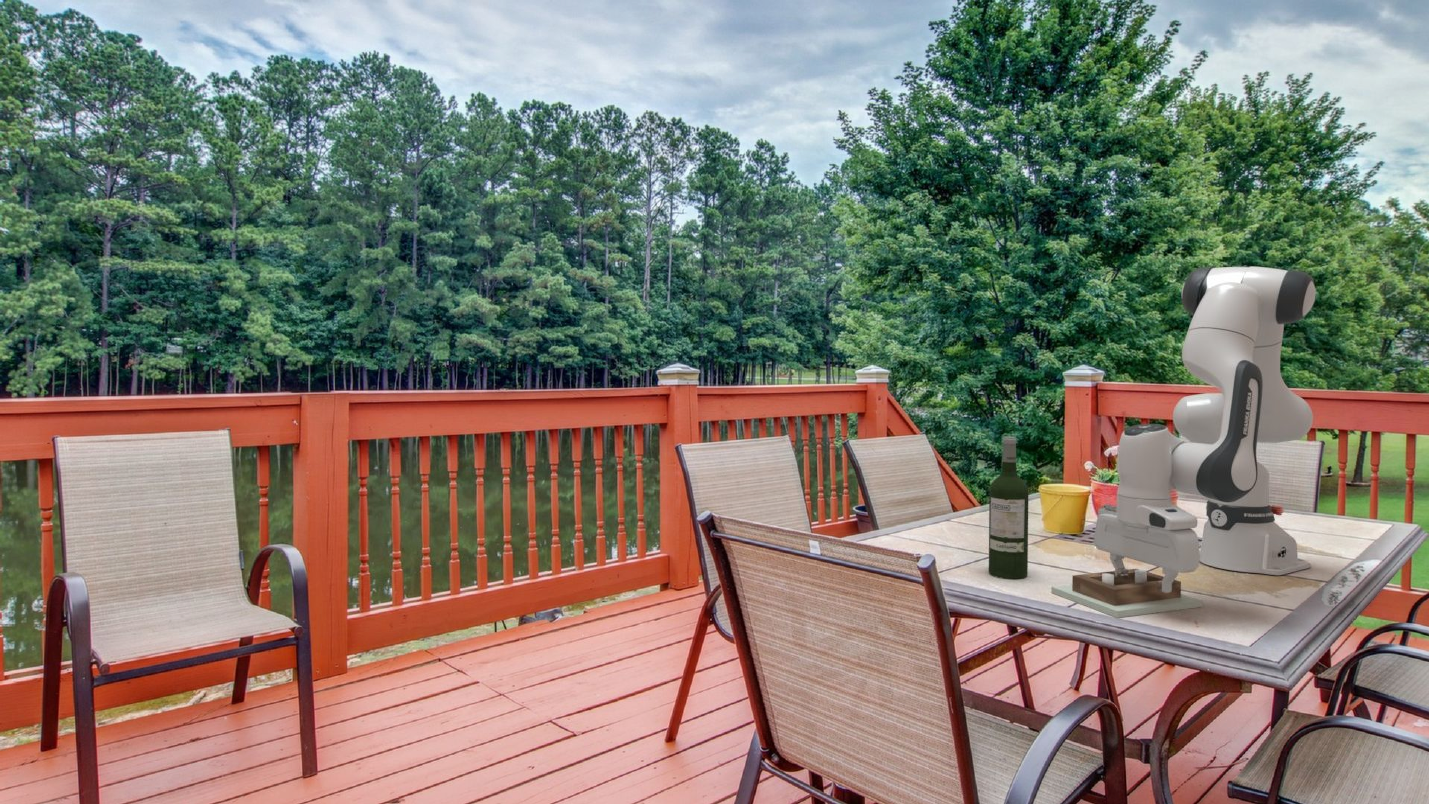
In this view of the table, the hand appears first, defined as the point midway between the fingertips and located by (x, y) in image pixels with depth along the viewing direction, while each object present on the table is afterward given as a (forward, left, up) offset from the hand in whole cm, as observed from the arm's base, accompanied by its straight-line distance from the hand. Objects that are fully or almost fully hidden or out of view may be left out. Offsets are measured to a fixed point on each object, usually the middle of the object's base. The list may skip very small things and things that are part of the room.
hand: (1142, 584), depth 139 cm
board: (0, -4, -4) cm, 6 cm away
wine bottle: (+9, -26, -4) cm, 28 cm away
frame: (0, -4, -3) cm, 5 cm away
